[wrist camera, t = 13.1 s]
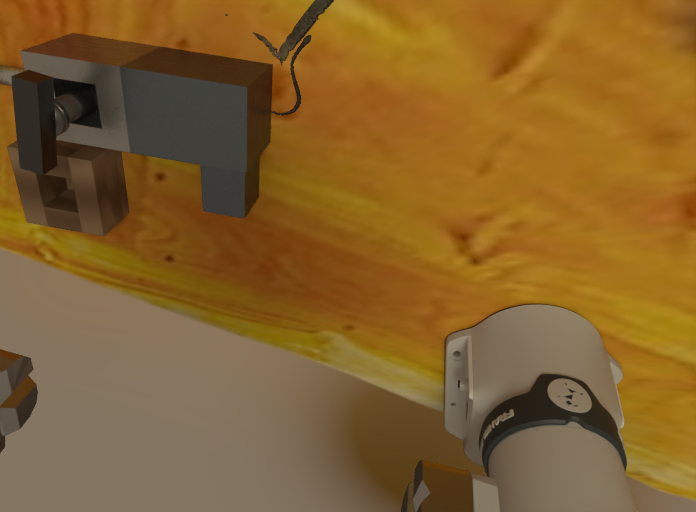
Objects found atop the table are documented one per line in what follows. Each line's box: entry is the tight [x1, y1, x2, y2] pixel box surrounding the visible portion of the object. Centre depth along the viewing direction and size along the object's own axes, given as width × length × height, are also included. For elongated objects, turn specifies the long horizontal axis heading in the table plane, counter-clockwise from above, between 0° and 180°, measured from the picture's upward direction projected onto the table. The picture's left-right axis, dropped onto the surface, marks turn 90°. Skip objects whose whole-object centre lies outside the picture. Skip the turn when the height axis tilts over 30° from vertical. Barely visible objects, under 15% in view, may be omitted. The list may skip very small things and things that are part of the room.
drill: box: [0, 33, 273, 218], centre depth 47 cm, size 25×13×7 cm, turn 84°
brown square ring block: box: [7, 140, 129, 236], centre depth 52 cm, size 8×8×5 cm
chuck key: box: [11, 70, 99, 175], centre depth 42 cm, size 3×7×11 cm, turn 166°
